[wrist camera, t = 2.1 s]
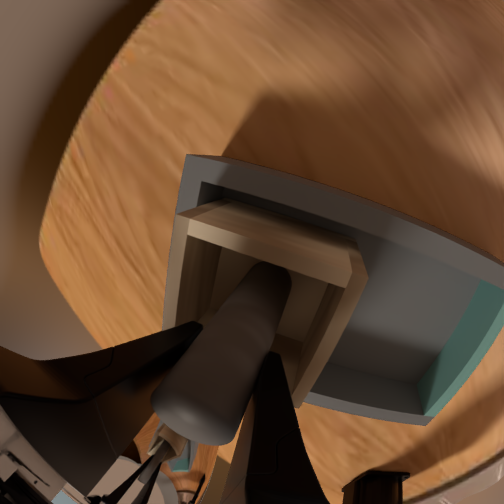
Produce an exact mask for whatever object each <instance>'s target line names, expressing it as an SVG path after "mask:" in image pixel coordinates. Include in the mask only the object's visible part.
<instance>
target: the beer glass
mask: <svg viewBox="0 0 504 504" xmlns="http://www.w3.org/2000/svg"><path fill="white" fill-rule="evenodd" d="M218 448H219V446H212V445H205V444H201V443H197V442H195V441H192V440H190V439H187V438H185V437H183V436H181V435H180V434H178V433H176V432H175V431H173V430H172V429H171V428H169V427H168V426H167V425H166V424H165V423H164V422H163V421H162V420H161V419H160V418H159V417H158V416H157V414H156V413H154V414H153V415H152V416H151V418H150V419H149V420H148V421H147V423H146V424H145V425H144V427H143V428H142V429H141V430H140V432H139V433H138V434H137V435H136V437H135V438H134V439H133V440H132V442H131V443H130V444H129V445H128V447H127V448H126V449H125V450H124V452H123V453H122V454H121V455H120V457H119V458H118V459H117V460H116V462H115V463H114V464H113V465H112V467H111V468H110V469H109V470H108V471H107V473H106V474H105V475H104V476H103V477H102V479H101V480H100V481H99V482H98V484H97V485H96V486H95V487H94V488H93V490H92V491H91V492H90V493H89V494H88V495H87V496H86V497H84V496H83V495H81V494H80V493H79V492H78V491H76V490H75V489H74V488H72V487H71V486H70V485H69V484H67V483H66V485H65V486H64V487H63V488H62V489H61V490H62V491H63V492H64V493H65V494H67V495H68V496H69V497H70V498H71V499H72V500H74V501H75V502H76V503H78V504H200V503H201V500H202V498H203V496H204V494H205V492H206V489H207V487H208V484H209V481H210V478H211V474H212V471H213V468H214V464H215V460H216V456H217V452H218Z"/></svg>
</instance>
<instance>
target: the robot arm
mask: <svg viewBox="0 0 504 504" xmlns="http://www.w3.org/2000/svg"><path fill="white" fill-rule="evenodd" d="M202 330H203V325H202V324H200V323H198V322H196V321H190V322H187V323H184V324H181V325H178V326H175V327H172V328H169V329H166V330H163V331H160V332H157V333H154V334H151V335H148V336H145V337H142V338H139V339H136V340H133V341H129V342H126V343H123V344H120V345H117V346H114V347H110V348H106V349H103V350H100V351H96V352H92V353H87V354H82V355H77V356H71V357H65V358H58V359H52V360H33V359H30V358H27V357H24V356H22V355H20V354H17V353H15V352H13V351H10V350H8V349H6V348H4V347H1V346H0V504H53V503H52V502H51V501H52V500H53V498H54V497H55V496H56V495H57V494H58V493H59V491H60V490H61V489H62V488H63V487H64V486H65V485H66V483H67V484H69V485H70V486H71V487H72V488H74V489H75V490H76V491H78V492H79V493H80V494H81V495H83V496H84V497H86V496H87V495H88V494H89V493H90V492H91V491H92V490H93V488H94V487H95V486H96V485H97V484H98V482H99V481H100V480H101V479H102V477H103V476H104V475H105V474H106V473H107V471H108V470H109V469H110V468H111V467H112V465H113V464H114V463H115V462H116V460H117V459H118V458H119V457H120V455H121V454H122V453H123V452H124V450H125V449H126V448H127V447H128V445H129V444H130V443H131V442H132V440H133V439H134V438H135V437H136V435H137V434H138V433H139V432H140V430H141V429H142V428H143V427H144V425H145V424H146V423H147V421H148V420H149V419H150V418H151V416H152V415H153V414H154V413H155V411H154V410H153V408H152V405H151V401H150V398H151V394H152V393H153V391H154V390H155V389H156V388H157V386H158V385H159V384H160V383H161V381H162V380H163V379H164V378H165V376H166V375H167V374H168V373H169V371H170V370H171V369H172V368H173V366H174V365H175V364H176V363H177V361H178V360H179V359H180V358H181V356H182V355H183V354H184V353H185V351H186V350H187V349H188V348H189V346H190V345H191V344H192V343H193V341H194V340H195V339H196V338H197V336H198V335H199V334H200V333H201V331H202ZM409 477H410V473H390V472H375V471H368V472H366V473H364V474H363V475H361V476H360V477H358V478H357V479H356V480H354V481H353V482H351V483H350V484H348V485H346V486H345V487H343V488H342V492H344V496H343V504H403V489H402V482H403V481H405V480H406V479H408V478H409ZM219 504H330V503H329V501H328V500H327V498H326V497H325V495H324V492H323V490H322V488H321V486H320V483H319V481H318V479H317V476H316V474H315V472H314V469H313V467H312V465H311V462H310V460H309V457H308V455H307V452H306V449H305V446H304V443H303V439H302V436H301V432H300V428H299V424H298V420H297V416H296V413H295V409H294V405H293V401H292V397H291V393H290V389H289V385H288V381H287V378H286V374H285V370H284V366H283V362H282V358H281V355H280V354H279V353H276V352H273V351H269V352H268V354H267V357H266V359H265V362H264V364H263V367H262V370H261V372H260V375H259V377H258V380H257V383H256V386H255V388H254V391H253V394H252V396H251V399H250V401H249V404H248V406H247V408H246V411H245V414H244V418H243V422H242V426H241V429H240V433H239V437H238V440H237V444H236V448H235V451H234V455H233V459H232V462H231V466H230V469H229V473H228V476H227V480H226V483H225V487H224V490H223V493H222V497H221V500H220V503H219Z"/></svg>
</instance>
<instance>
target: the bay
mask: <svg viewBox="0 0 504 504" xmlns="http://www.w3.org/2000/svg"><path fill="white" fill-rule="evenodd" d="M223 198H229V199H232V200H236V201H239V202H242V203H246V204H249V205H252V206H256V207H259V208H262V209H266V210H269V211H272V212H275V213H279V214H282V215H285V216H288V217H291V218H294V219H297V220H301V221H304V222H307V223H310V224H313V225H316V226H319V227H322V228H325V229H328V230H331V231H334V232H337V233H339V234H342V235H345V236H348V237H351V238H354V239H356V241H357V244H358V247H359V250H360V253H361V256H362V259H363V262H364V265H365V268H366V271H367V274H368V281H367V283H366V285H365V288H364V290H363V292H362V294H361V296H360V299H359V301H358V303H357V305H356V307H355V309H354V311H353V313H352V315H351V317H350V319H349V321H348V323H347V325H346V327H345V329H344V331H343V333H342V335H341V337H340V339H339V341H338V343H337V345H336V347H335V348H334V350H333V352H332V354H331V356H330V357H329V359H328V361H327V363H326V365H325V366H324V368H323V370H322V372H321V373H320V375H319V377H318V378H317V380H316V382H315V383H314V385H313V387H312V388H311V390H310V391H309V393H308V395H307V396H306V398H305V399H304V401H303V402H306V403H309V404H313V405H316V406H320V407H324V408H328V409H332V410H336V411H340V412H345V413H349V414H354V415H358V416H363V417H368V418H374V419H379V420H385V421H391V422H398V423H405V424H413V425H422V426H426V425H427V424H428V423H429V422H430V421H431V420H432V419H433V418H434V417H435V416H436V415H437V414H438V413H439V412H440V411H441V410H442V409H443V407H444V406H445V405H446V404H447V403H448V402H449V401H450V400H451V399H452V397H453V396H454V395H455V394H456V393H457V391H458V390H459V389H460V388H461V387H462V385H463V384H464V383H465V382H466V380H467V379H468V378H469V376H470V375H471V374H472V372H473V371H474V370H475V368H476V367H477V366H478V364H479V363H480V361H481V360H482V359H483V357H484V356H485V354H486V353H487V351H488V350H489V348H490V347H491V345H492V344H493V342H494V340H495V339H496V337H497V336H498V334H499V332H500V331H501V329H502V327H503V325H504V263H503V262H502V261H500V260H499V259H497V258H496V257H494V256H493V255H491V254H489V253H487V252H485V251H484V250H482V249H480V248H478V247H476V246H474V245H472V244H470V243H468V242H466V241H464V240H462V239H460V238H458V237H456V236H454V235H451V234H449V233H447V232H445V231H443V230H441V229H439V228H436V227H434V226H432V225H430V224H427V223H425V222H423V221H420V220H418V219H416V218H413V217H411V216H409V215H406V214H404V213H401V212H399V211H396V210H394V209H391V208H389V207H386V206H384V205H381V204H379V203H376V202H373V201H371V200H368V199H365V198H362V197H360V196H357V195H354V194H351V193H348V192H345V191H342V190H340V189H337V188H334V187H331V186H328V185H324V184H321V183H318V182H315V181H312V180H309V179H305V178H302V177H299V176H295V175H292V174H288V173H285V172H281V171H278V170H274V169H271V168H267V167H263V166H259V165H256V164H252V163H248V162H244V161H240V160H235V159H231V158H227V157H223V156H212V155H193V154H186V158H185V163H184V168H183V173H182V178H181V184H180V189H179V195H178V200H177V206H176V212H175V215H176V214H178V213H180V212H183V211H186V210H189V209H192V208H195V207H198V206H201V205H204V204H207V203H210V202H213V201H216V200H219V199H223ZM174 222H175V218H174ZM173 228H174V225H173ZM172 235H173V232H172ZM171 242H172V239H171ZM170 250H171V246H170ZM169 257H170V254H169ZM168 266H169V262H168ZM167 274H168V270H167ZM166 283H167V279H166ZM165 293H166V289H165ZM164 304H165V299H164ZM163 316H164V311H163ZM162 331H163V324H162Z"/></svg>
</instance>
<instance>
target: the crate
mask: <svg viewBox="0 0 504 504" xmlns="http://www.w3.org/2000/svg"><path fill="white" fill-rule="evenodd" d="M367 281H368V274H367V271H366V268H365V265H364V262H363V259H362V256H361V253H360V250H359V247H358V244H357V241H356V239H354V238H351V237H348V236H345V235H342V234H339V233H337V232H334V231H331V230H328V229H325V228H322V227H319V226H316V225H313V224H310V223H307V222H304V221H301V220H297V219H294V218H291V217H288V216H285V215H282V214H279V213H275V212H272V211H269V210H266V209H262V208H259V207H256V206H252V205H249V204H246V203H242V202H239V201H236V200H232V199H229V198H223V199H219V200H216V201H213V202H210V203H207V204H204V205H201V206H198V207H195V208H192V209H189V210H186V211H183V212H180V213H178V214H176V215H175V222H174V228H173V235H172V242H171V250H170V257H169V266H168V274H167V283H166V293H165V304H164V316H163V330H166V329H169V328H172V327H175V326H178V325H181V324H184V323H187V322H190V321H196V322H198V323H200V324H202V325H203V330H202V331H201V333H200V334H199V335H198V336H197V338H196V339H195V340H194V341H193V343H192V344H191V345H190V346H189V348H188V349H187V350H186V351H185V353H184V354H183V355H182V356H181V358H180V359H179V360H178V361H177V363H176V364H175V365H174V366H173V368H172V369H171V370H170V371H169V373H168V374H167V375H166V376H165V378H164V379H163V380H162V381H161V383H160V384H159V385H158V386H157V388H156V389H155V390H154V391H153V393H152V394H151V398H150V401H151V405H152V408H153V410H154V411H155V413H156V414H157V416H158V417H159V418H160V419H161V420H162V421H163V422H164V423H165V424H166V425H167V426H168V427H169V428H171V429H172V430H173V431H175V432H176V433H178V434H180V435H181V436H183V437H185V438H187V439H190V440H192V441H195V442H197V443H201V444H205V445H212V446H219V445H225V444H228V443H230V442H231V441H232V440H233V439H234V437H235V434H236V432H237V430H238V427H239V425H240V423H241V420H242V418H243V416H244V413H245V411H246V408H247V406H248V404H249V401H250V399H251V396H252V394H253V391H254V388H255V386H256V383H257V380H258V377H259V375H260V372H261V370H262V367H263V364H264V362H265V359H266V357H267V354H268V352H269V351H273V352H276V353H279V354H280V355H281V358H282V362H283V366H284V370H285V374H286V378H287V381H288V385H289V389H290V393H291V397H292V401H293V405H294V407H295V408H299V407H300V406H301V404H302V403H303V401H304V399H305V398H306V396H307V395H308V393H309V391H310V390H311V388H312V387H313V385H314V383H315V382H316V380H317V378H318V377H319V375H320V373H321V372H322V370H323V368H324V366H325V365H326V363H327V361H328V359H329V357H330V356H331V354H332V352H333V350H334V348H335V347H336V345H337V343H338V341H339V339H340V337H341V335H342V333H343V331H344V329H345V327H346V325H347V323H348V321H349V319H350V317H351V315H352V313H353V311H354V309H355V307H356V305H357V303H358V301H359V299H360V296H361V294H362V292H363V290H364V288H365V285H366V283H367Z"/></svg>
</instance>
